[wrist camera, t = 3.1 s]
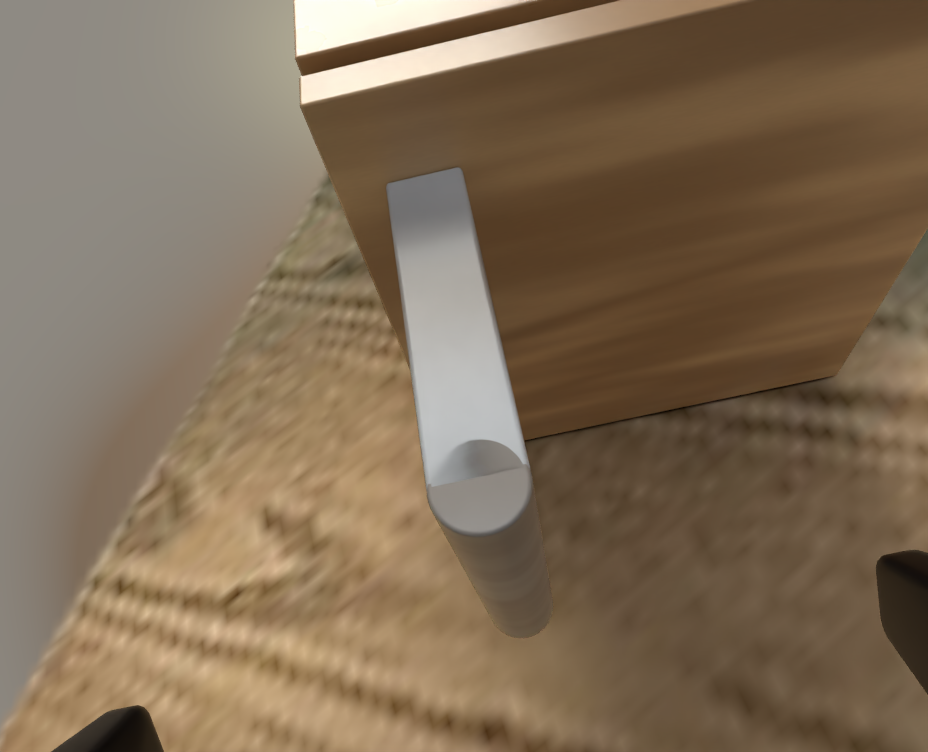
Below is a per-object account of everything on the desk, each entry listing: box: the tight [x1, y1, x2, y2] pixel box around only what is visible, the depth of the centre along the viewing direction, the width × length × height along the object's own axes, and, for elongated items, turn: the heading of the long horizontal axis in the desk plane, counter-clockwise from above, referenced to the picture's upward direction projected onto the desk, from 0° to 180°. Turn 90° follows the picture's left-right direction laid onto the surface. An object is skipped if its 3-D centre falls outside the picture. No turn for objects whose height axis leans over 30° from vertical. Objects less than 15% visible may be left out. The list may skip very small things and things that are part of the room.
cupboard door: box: [299, 0, 928, 638], centre depth 14 cm, size 8×13×13 cm, turn 99°
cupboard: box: [293, 0, 619, 76], centre depth 18 cm, size 8×13×14 cm, turn 99°
